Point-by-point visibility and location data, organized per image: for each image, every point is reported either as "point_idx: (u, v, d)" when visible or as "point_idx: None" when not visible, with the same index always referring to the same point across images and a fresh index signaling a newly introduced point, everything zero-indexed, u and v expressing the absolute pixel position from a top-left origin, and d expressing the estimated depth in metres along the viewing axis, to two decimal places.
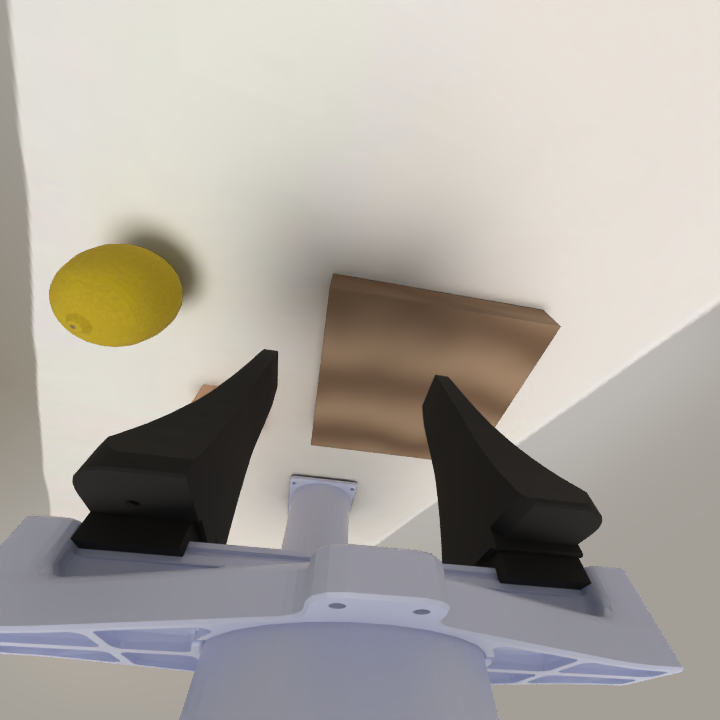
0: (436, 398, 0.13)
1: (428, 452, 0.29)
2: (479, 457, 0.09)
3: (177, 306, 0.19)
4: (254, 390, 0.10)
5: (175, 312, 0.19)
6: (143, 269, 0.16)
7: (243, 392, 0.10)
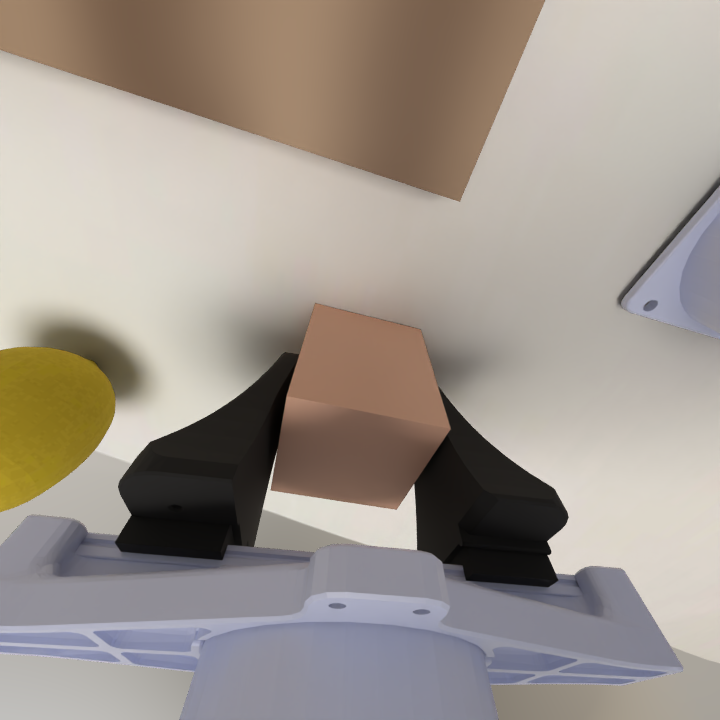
0: None
1: None
2: (450, 454, 0.09)
3: (19, 367, 0.11)
4: (280, 394, 0.10)
5: (23, 374, 0.11)
6: None
7: (271, 396, 0.10)
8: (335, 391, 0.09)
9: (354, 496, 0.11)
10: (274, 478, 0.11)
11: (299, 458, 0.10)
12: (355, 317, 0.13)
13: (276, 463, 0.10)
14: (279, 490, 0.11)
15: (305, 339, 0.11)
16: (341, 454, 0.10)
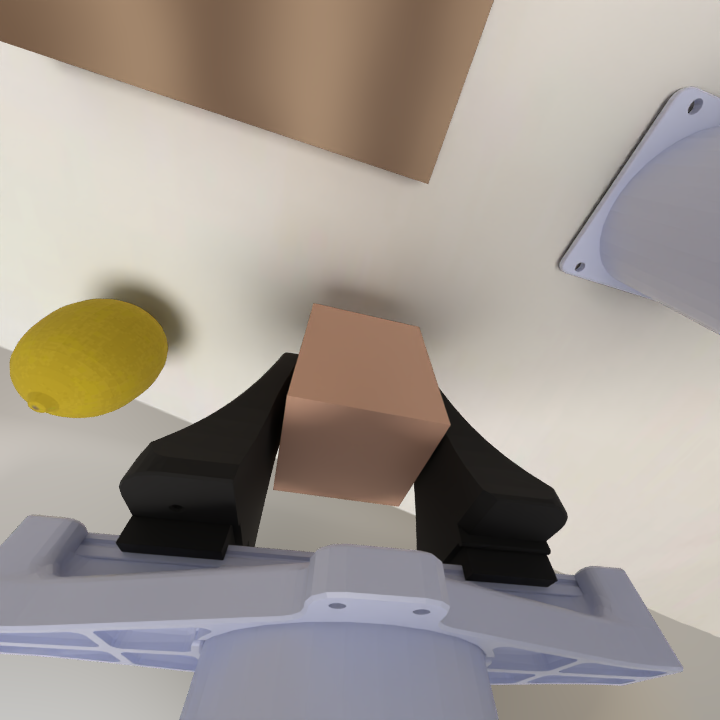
0: None
1: None
2: (450, 454, 0.09)
3: (108, 309, 0.15)
4: (281, 394, 0.10)
5: (112, 314, 0.15)
6: (39, 321, 0.14)
7: (271, 396, 0.10)
8: (335, 390, 0.09)
9: (356, 494, 0.11)
10: (276, 478, 0.11)
11: (300, 457, 0.10)
12: (353, 316, 0.13)
13: (278, 463, 0.10)
14: (281, 490, 0.11)
15: (304, 339, 0.11)
16: (342, 453, 0.10)
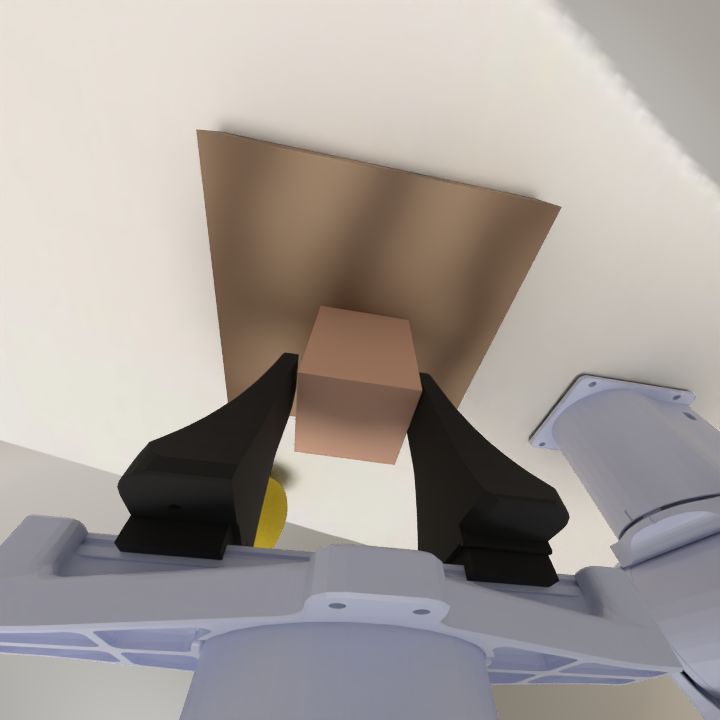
0: None
1: (495, 298, 0.16)
2: (451, 454, 0.09)
3: None
4: (280, 394, 0.10)
5: (265, 497, 0.26)
6: None
7: (271, 396, 0.10)
8: (333, 368, 0.12)
9: (359, 454, 0.14)
10: (296, 440, 0.14)
11: (312, 423, 0.13)
12: (353, 314, 0.16)
13: (296, 427, 0.14)
14: None
15: (312, 333, 0.14)
16: (343, 417, 0.13)
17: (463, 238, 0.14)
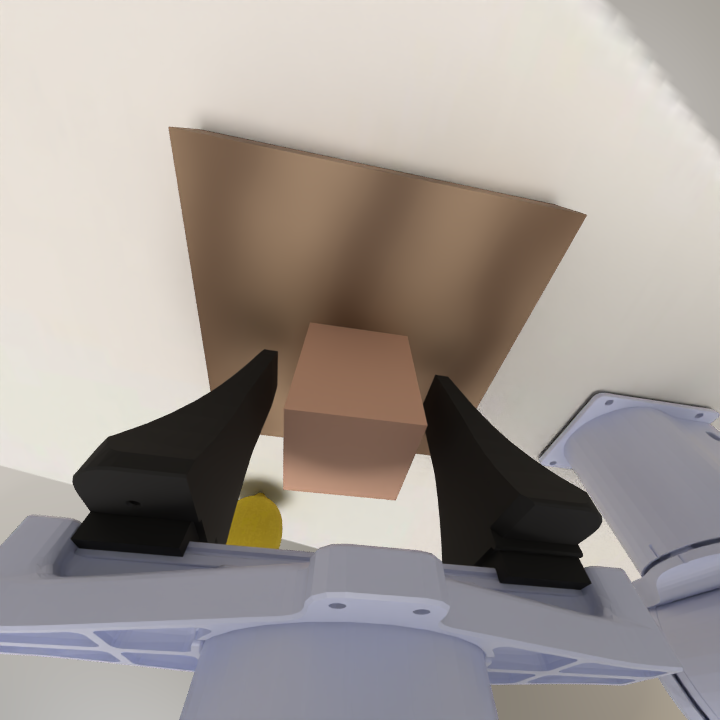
0: (436, 398, 0.13)
1: (508, 314, 0.15)
2: (479, 457, 0.09)
3: (255, 517, 0.25)
4: (254, 390, 0.10)
5: (258, 521, 0.24)
6: None
7: (243, 392, 0.10)
8: (325, 401, 0.11)
9: (356, 490, 0.13)
10: (284, 479, 0.12)
11: (302, 460, 0.12)
12: (346, 331, 0.15)
13: (284, 465, 0.12)
14: (290, 489, 0.13)
15: (300, 357, 0.12)
16: (337, 454, 0.11)
17: (475, 250, 0.13)
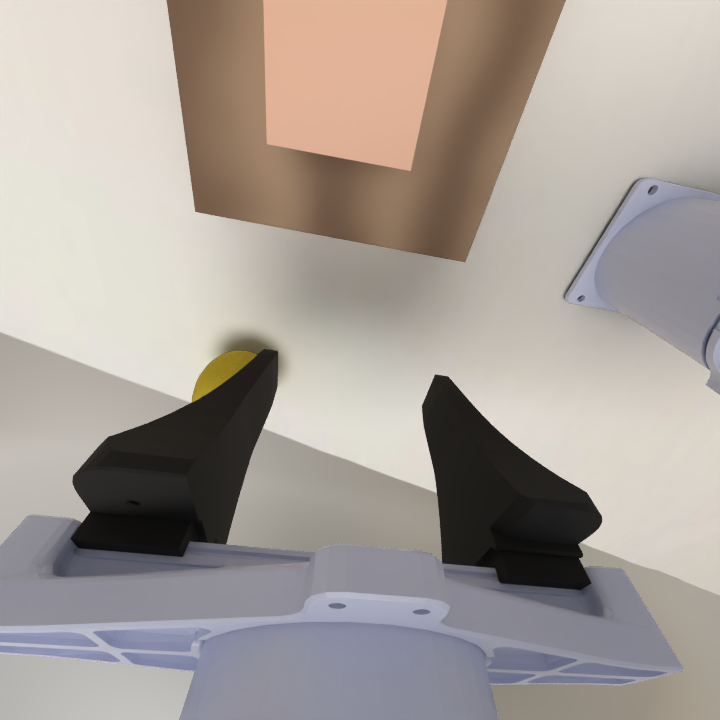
0: (436, 398, 0.13)
1: None
2: (479, 457, 0.09)
3: (244, 360, 0.22)
4: (254, 390, 0.10)
5: (247, 363, 0.22)
6: (203, 372, 0.21)
7: (243, 392, 0.10)
8: None
9: (360, 144, 0.10)
10: (268, 113, 0.10)
11: (290, 57, 0.09)
12: None
13: (266, 74, 0.09)
14: (276, 145, 0.10)
15: None
16: (336, 37, 0.09)
17: None
